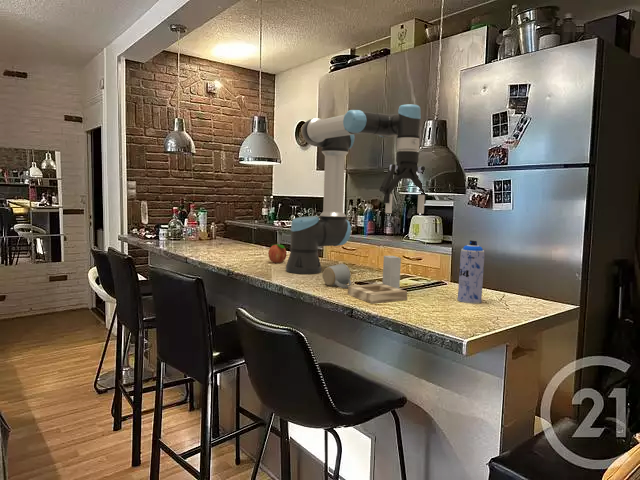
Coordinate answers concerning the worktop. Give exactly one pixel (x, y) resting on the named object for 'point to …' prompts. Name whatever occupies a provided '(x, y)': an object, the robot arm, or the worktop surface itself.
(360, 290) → the socket block
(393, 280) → the skincare box
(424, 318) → the worktop surface
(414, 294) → the worktop surface
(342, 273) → the ceramic mug
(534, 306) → the worktop surface
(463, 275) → the aerosol can
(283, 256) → the fruit
